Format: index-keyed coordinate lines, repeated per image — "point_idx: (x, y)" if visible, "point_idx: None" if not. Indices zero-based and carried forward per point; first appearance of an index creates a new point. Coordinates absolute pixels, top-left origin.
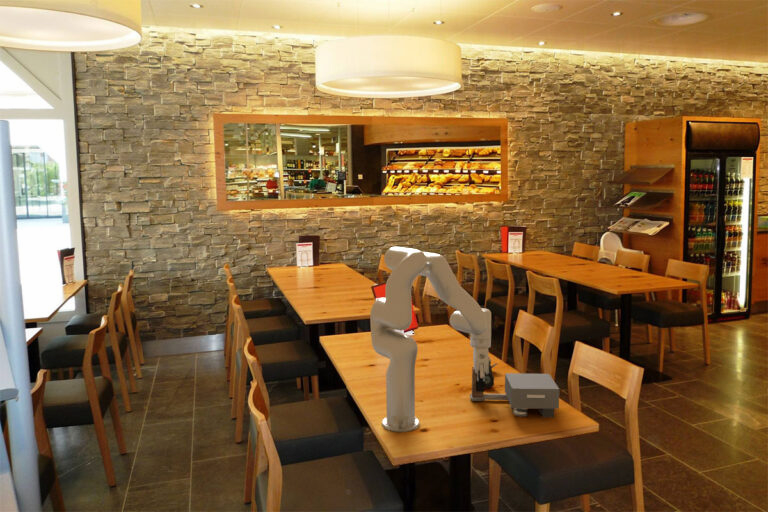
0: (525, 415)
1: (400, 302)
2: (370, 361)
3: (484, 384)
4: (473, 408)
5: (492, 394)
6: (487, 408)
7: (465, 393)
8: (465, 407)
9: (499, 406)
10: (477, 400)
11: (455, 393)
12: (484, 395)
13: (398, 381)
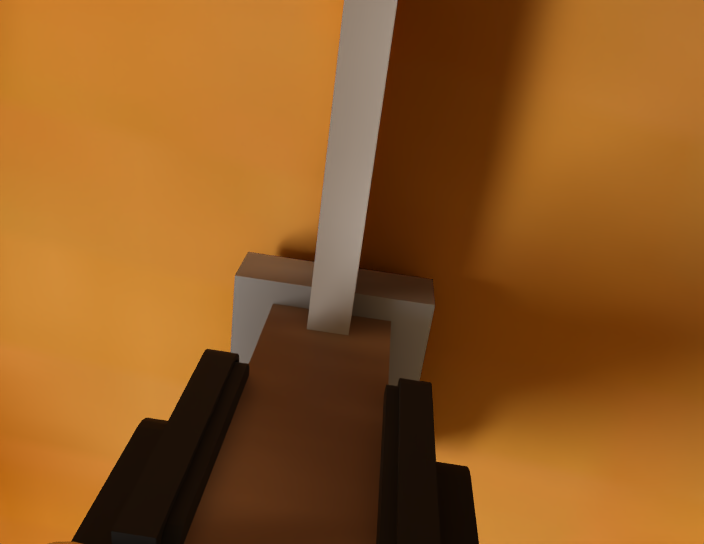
0: None
1: None
2: None
3: (436, 503)
4: (631, 467)
5: (363, 148)
6: (697, 289)
7: (45, 428)
8: (567, 541)
9: (675, 58)
10: None
11: (59, 533)
12: (354, 297)
13: None
